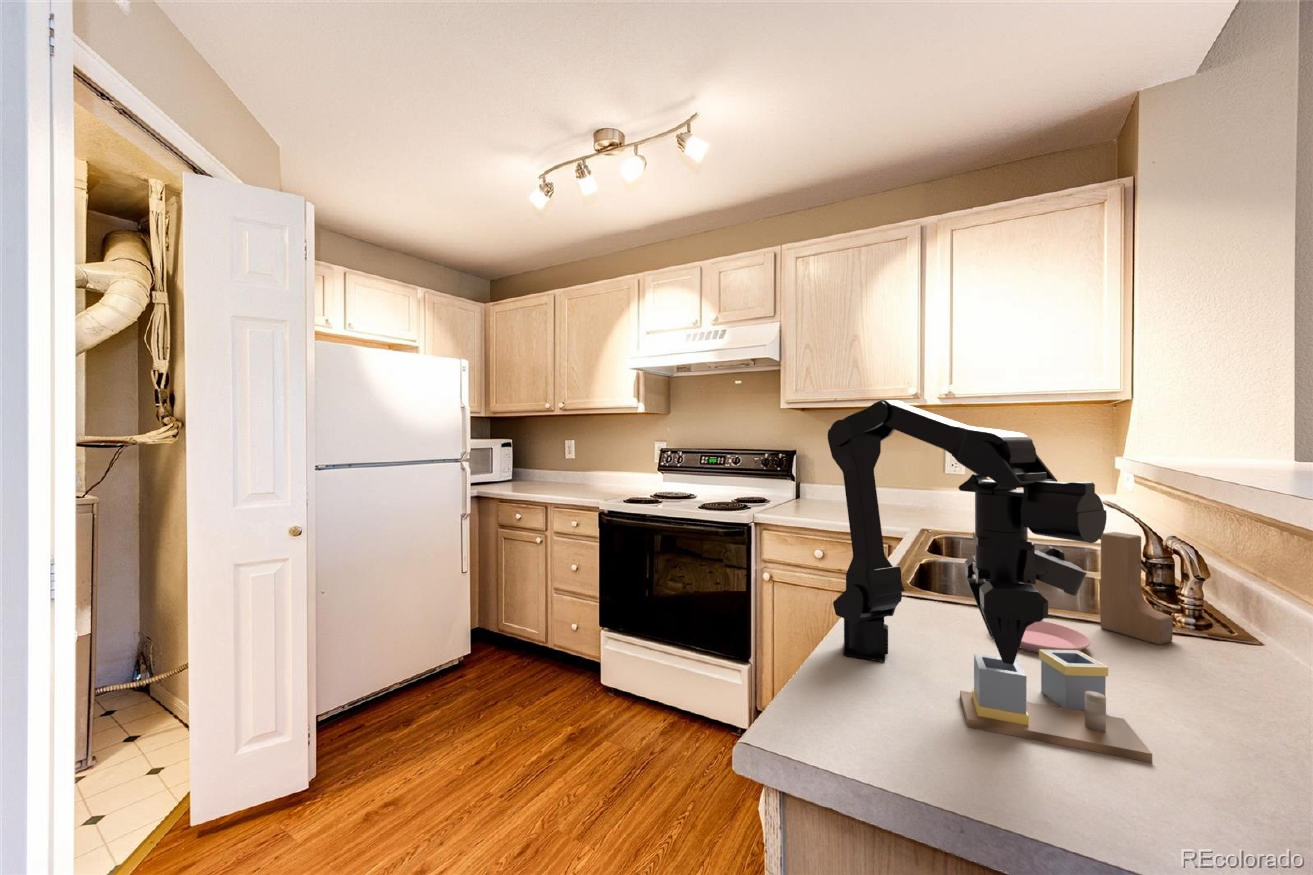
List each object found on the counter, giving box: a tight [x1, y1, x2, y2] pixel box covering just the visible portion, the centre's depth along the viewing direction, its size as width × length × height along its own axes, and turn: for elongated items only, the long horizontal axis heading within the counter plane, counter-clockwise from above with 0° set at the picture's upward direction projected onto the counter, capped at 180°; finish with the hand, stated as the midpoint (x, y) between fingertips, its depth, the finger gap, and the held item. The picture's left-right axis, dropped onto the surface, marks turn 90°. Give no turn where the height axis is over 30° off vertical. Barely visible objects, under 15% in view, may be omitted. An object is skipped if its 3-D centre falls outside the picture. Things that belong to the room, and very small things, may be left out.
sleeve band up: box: [1038, 650, 1109, 712], centre depth 73 cm, size 5×5×6 cm
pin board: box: [959, 690, 1153, 764], centre depth 66 cm, size 18×8×5 cm, turn 66°
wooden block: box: [1099, 531, 1174, 646], centre depth 96 cm, size 9×4×18 cm, turn 24°
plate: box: [1019, 620, 1091, 654], centre depth 93 cm, size 14×14×2 cm
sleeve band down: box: [971, 653, 1029, 725], centre depth 69 cm, size 5×5×6 cm
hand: (1001, 649), depth 68 cm, fingers open, 9 cm apart
